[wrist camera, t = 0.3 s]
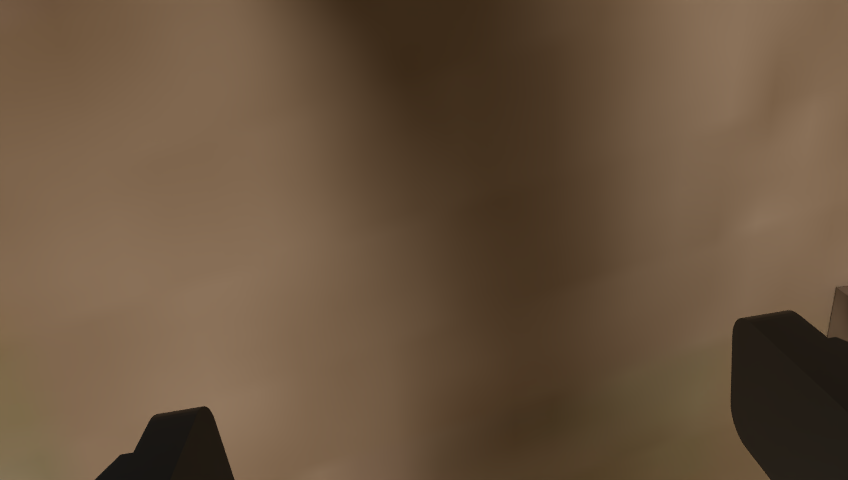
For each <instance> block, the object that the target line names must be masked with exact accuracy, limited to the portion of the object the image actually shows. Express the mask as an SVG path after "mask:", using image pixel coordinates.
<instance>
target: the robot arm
mask: <svg viewBox="0 0 848 480" xmlns="http://www.w3.org/2000/svg"><path fill="white" fill-rule="evenodd" d="M731 412H732V417H733V421H734V424H735V427H736V430H737V433H738V435H739V437H740V439H741V441H742V443H743V444H744V446H745V447H746V448H747V450H748V451H749V452H750V454H751V455H752V456H753V457H754V459H755V460H756V461H757V463H758V464H759V465H760V466H761V468H762V469H763V470H764V471H765V473H766V474H767V475H768V477H769V478H770V479H771V480H848V342H847V341H845V340H843V339H840V338H838V337H832V338H827V337H826V336H825V335H824V334H822V333H821V332H820V331H819V330H817V329H816V328H815V327H814V326H812V325H811V324H810V323H809V322H807V321H806V320H805V319H804V318H802V317H801V316H800V315H799V314H797V313H796V312H794V311H790V310H787V311H781V312H775V313H769V314H763V315H757V316H751V317H745V318H740V319H738V320H737V321H736V322H735V324H734V327H733V335H732V372H731ZM95 480H234V477H233V474H232V471H231V468H230V465H229V462H228V459H227V456H226V453H225V450H224V446H223V443H222V440H221V437H220V434H219V431H218V428H217V425H216V422H215V419H214V416H213V414H212V412H211V411H210V409H209V408H207V407H205V406H204V407H197V408H191V409H185V410H179V411H173V412H167V413H161V414H156V415H154V416H153V417H152V418H151V419H150V421H149V423H148V425H147V427H146V429H145V431H144V433H143V435H142V437H141V439H140V441H139V443H138V444H137V446H136V448H135V450H134V452H133V453H128V454H122V455H120V456H119V457H118V458H117V459H116V460H115V461H114V462H113V463H112V464H111V465H110V466H108V467H107V468H106V469H105V470H104V471H103V472H102V473H101V474H100V475H99V476H98V477H97V478H96V479H95Z"/></svg>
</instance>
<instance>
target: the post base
mask: <svg viewBox="0 0 848 480" xmlns="http://www.w3.org/2000/svg"><path fill="white" fill-rule="evenodd" d="M832 337H838V338H840V339H843V340H845V341H847V342H848V286H843V287H836V293H835V298H834V304H833V309H832V315H831V320H830V326H829V331H828V337H827V338H832Z"/></svg>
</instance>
